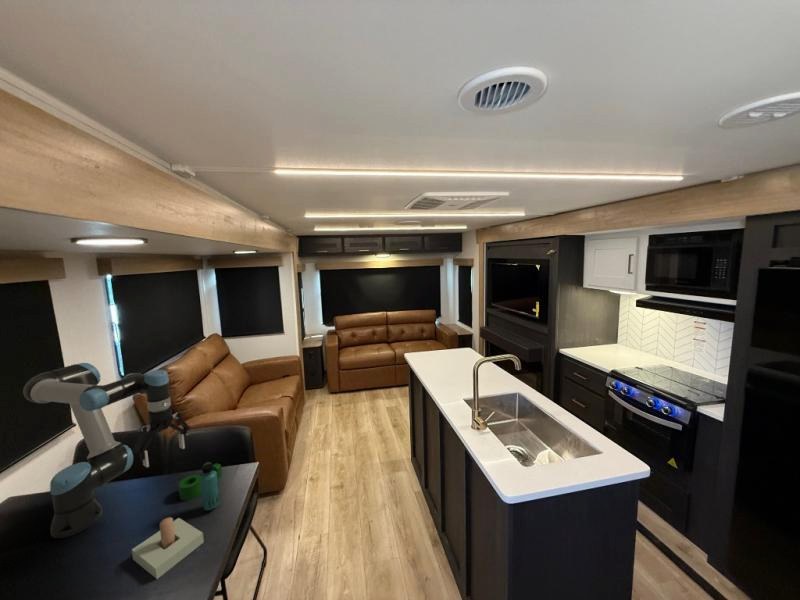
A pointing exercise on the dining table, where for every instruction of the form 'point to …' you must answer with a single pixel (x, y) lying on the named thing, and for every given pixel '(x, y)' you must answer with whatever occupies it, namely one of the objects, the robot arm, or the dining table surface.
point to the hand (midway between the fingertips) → (165, 456)
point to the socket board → (167, 549)
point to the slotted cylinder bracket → (195, 484)
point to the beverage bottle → (209, 487)
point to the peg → (167, 532)
